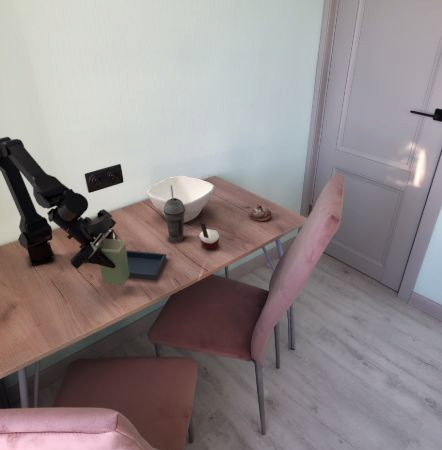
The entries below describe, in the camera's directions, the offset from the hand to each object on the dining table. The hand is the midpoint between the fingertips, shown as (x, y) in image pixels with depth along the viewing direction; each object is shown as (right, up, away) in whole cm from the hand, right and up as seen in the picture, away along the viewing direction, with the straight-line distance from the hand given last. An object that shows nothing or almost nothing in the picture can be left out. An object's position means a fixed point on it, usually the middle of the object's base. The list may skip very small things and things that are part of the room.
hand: (118, 261), depth 112 cm
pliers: (-11, +5, +28) cm, 30 cm away
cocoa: (+24, +3, +25) cm, 35 cm away
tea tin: (-1, -5, +4) cm, 6 cm away
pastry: (+44, +15, +43) cm, 63 cm away
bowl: (+14, +15, +44) cm, 49 cm away
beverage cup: (+13, +6, +30) cm, 33 cm away
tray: (+2, -3, +15) cm, 15 cm away
